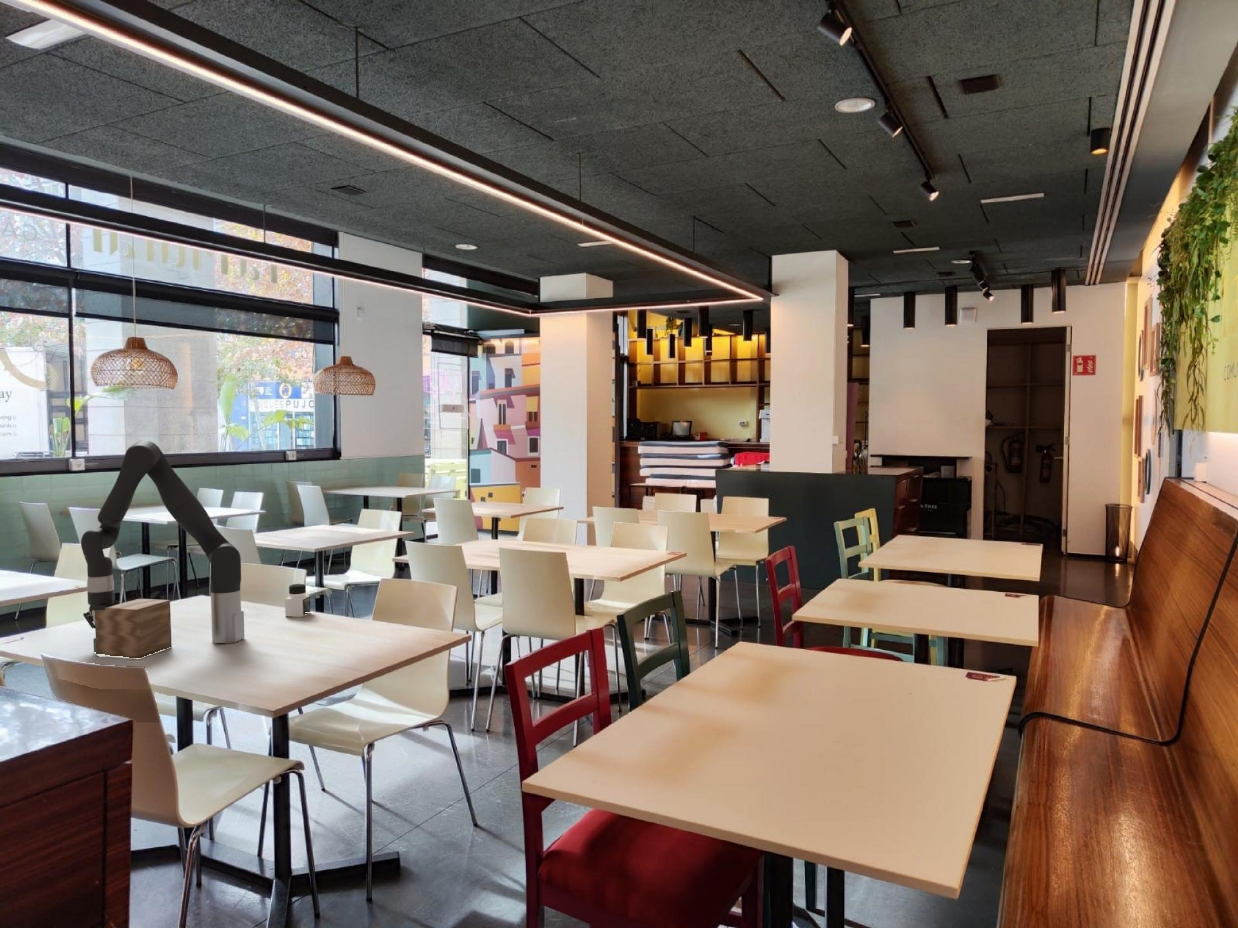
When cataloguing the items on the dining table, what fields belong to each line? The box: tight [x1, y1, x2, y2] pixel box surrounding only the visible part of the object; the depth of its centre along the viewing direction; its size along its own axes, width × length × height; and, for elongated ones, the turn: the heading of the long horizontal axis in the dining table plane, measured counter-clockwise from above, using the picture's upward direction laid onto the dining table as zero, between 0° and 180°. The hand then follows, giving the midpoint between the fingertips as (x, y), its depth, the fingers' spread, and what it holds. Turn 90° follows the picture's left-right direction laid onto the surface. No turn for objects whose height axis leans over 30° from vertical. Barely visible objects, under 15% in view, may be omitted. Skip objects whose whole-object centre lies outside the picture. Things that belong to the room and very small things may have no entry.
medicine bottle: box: [284, 583, 311, 617], centre depth 325 cm, size 7×7×12 cm
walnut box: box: [94, 598, 173, 659], centre depth 274 cm, size 16×14×16 cm
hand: (102, 641), depth 277 cm, fingers closed
